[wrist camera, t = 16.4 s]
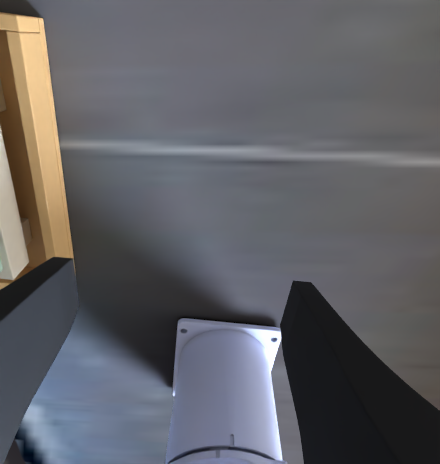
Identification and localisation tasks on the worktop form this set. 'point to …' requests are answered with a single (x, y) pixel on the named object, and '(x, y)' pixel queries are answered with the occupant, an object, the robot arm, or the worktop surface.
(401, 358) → the worktop surface
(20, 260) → the off-white rectangular slab
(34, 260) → the tray
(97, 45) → the worktop surface
